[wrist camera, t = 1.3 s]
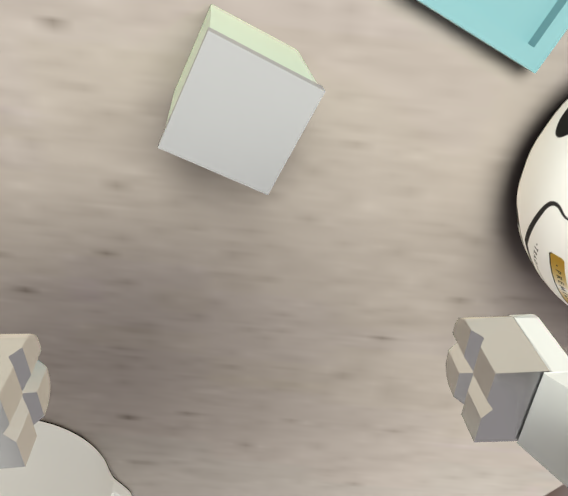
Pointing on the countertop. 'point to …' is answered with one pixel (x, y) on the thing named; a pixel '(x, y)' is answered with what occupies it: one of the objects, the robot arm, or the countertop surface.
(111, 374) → the countertop surface
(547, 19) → the tray
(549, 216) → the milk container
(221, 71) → the tea tin
